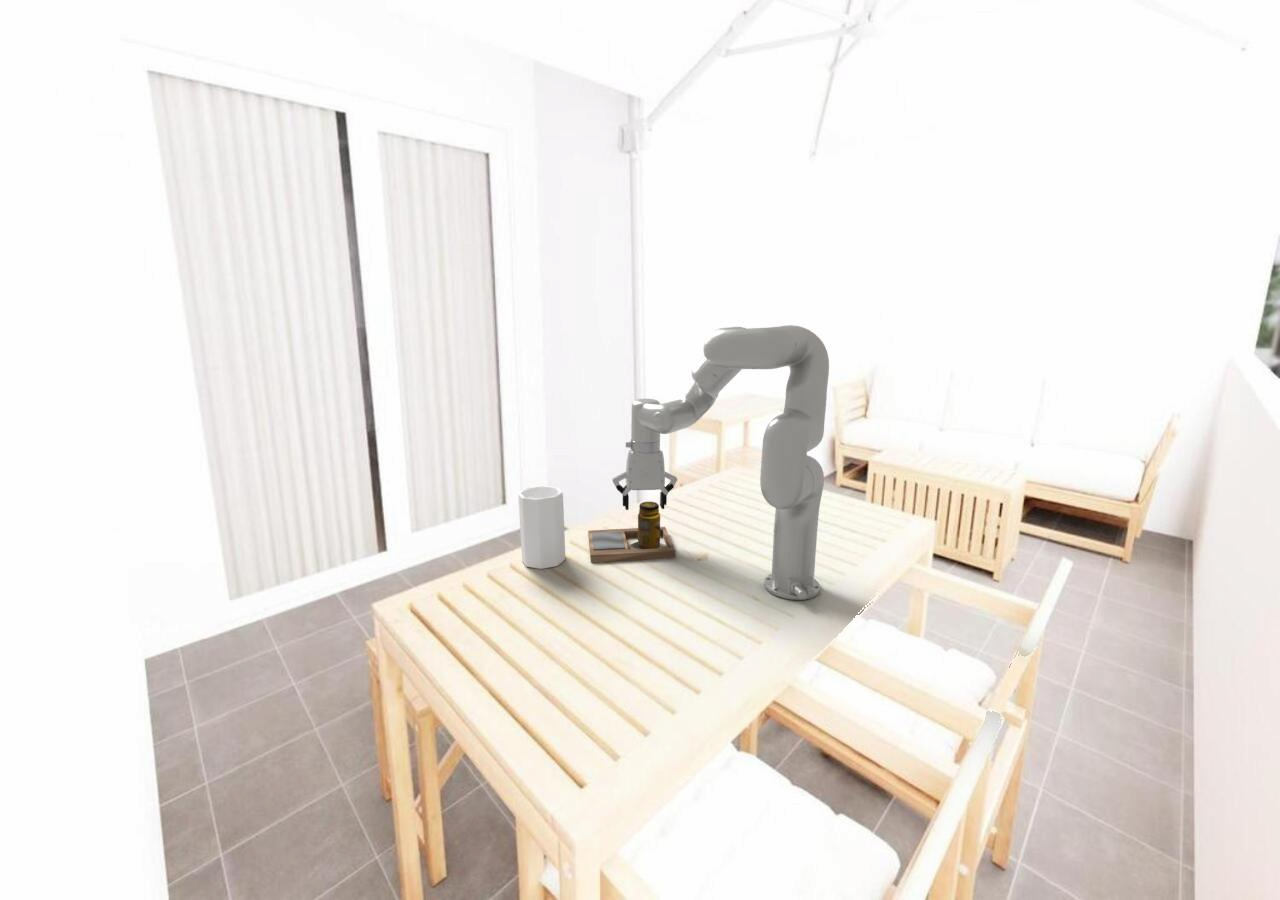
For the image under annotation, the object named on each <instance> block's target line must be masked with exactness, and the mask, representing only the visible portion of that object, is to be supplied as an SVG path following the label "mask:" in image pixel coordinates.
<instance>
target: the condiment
mask: <svg viewBox="0 0 1280 900" xmlns="http://www.w3.org/2000/svg"><path fill="white" fill-rule="evenodd" d="M659 507H660V504H658V503H657V502H655V501H643V502H641V503H640V504H639V509H638V514H637V528H638V537H637V541H636V542H634V543H633V542H632V543H630V544H627V545H628V549H630V550H638V549H657V548H665V547H667V546H666V543H662V542H661V536H660V527H661V513H660V510H659V509H660V508H659Z"/></svg>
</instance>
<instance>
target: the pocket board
mask: <svg viewBox="0 0 1280 900" xmlns="http://www.w3.org/2000/svg"><path fill="white" fill-rule="evenodd" d="M587 532H588V536H587V537H588V545H589V546H588V547H589V556H590V563H602V562H603V563H605V562H606V563H607V562H620V561H621V562H622V561H623V562H624V561H625V562H626V561H642V560H658V559H661V560H662V559H675V558H676V549H675V546H674V544H673V541H672V540H671V537H670V535H669V533H668V530H667V528H666V526H660V537H662V538H663V541H664V544H665V545H666V546H665V547H662V548H657V549H638V550H633V549H630V548H629V547H628V545H629V544H628V542H627V539H632V538H634V539H635V538H638V527H634V528H633V527H632V528H615V529H613V528H612V529H595V530H594V529H593V530H587Z"/></svg>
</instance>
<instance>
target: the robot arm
mask: <svg viewBox="0 0 1280 900" xmlns="http://www.w3.org/2000/svg"><path fill="white" fill-rule="evenodd" d="M828 353H829V352H828V350H827V348H826V345H825V344H824V342H823V341H822V339H821V338H820V337H819V336H818V335H816V334H815V333H814V332H813V331H812V330H810V329H808V328H806V327H802V326H800V325H791V324H789V325H779V326H772V327H771V326H770V327H769V326H768V327H751V328H750V327H749V328H746V327H742V326H729V327H722V328H718V329H715V330H714V331H711V333H710V334H709V335H708V336H707V337H706V339H705V341H704V344H703V357H702V358H701V359H700V360H699V361H698V362H697V363H696V364H695V365H694V366H693V367H692V370H691V377H692V380H693V381H694V382H693V385H692V386H691V387H690V388H689V389H688V390H687V391H686V393H685V394H684V395H682V396H681V398H679V399H676V400H673V401H669V402H664V403H660V401H658V400H657V399H653V398H638V399H634V400H633V402H632V404H631V425H630V426H631V429H630V430H631V432H630V433H631V434H630V440H629V441H628V442H627V441H626V442H625V448H629V450H628V454H627V459H626V466H625V471H624V472H622V473H620V474H618V475H617V476H614V477H613V478H612V480H611V481H612V483H613V484H614V486H615V489H616V490H617V491H618V492H619V493H620V494H622V495H621V496H622V507H624V508H625V511H628V510H629V509H630V507H629V504H630V500H629V499H630V497H629V493H630V492H631V491H649V490H650V491H656V490H657V491H658V490H660V492H659V496H660V497H659V507H660V508H661V509H662V510H665V506H667V504H668V503H667V502H668V501H667V499H668V497H667V496H668V495H669V493H670V491H672V490H673V488H675V487H674V486H675V485H676V484H677V482H678V478H677V476H675V475H674V474H671V473H669V472H667V471H666V470H665V467H666V466H665V458H664V453H663V451H662V450H661V448H660V447H661V435H668V434H672V433H676V432H677V431H681V430H683V429H684V430H685V429H687V428H689V427H691V426H694V424H696V423H697V422H698V421H699V420H700V419H701V418H702V417H703V416H704V415H705V414H706V413H707V412H708V411H709V410H710V409H711V408H712V406H713V405H714V404H715V402H716V400H717V398H718V397H719V394H720V392H721V391H722V390H723V389H724V388H725V387H726V386H727V385H728V384H729V383H730V382H731V381H732V380H733V379H734V378H735V377H736V376H737V375H738V374H739V373H740V372H741V371H742V370H774V369H776V370H777V369H779V368H783V367H787V366H788V367H789V369H790V370H789V376H788V380H787V383H786V387H785V399H784V401H785V402H784V408H783V413H781V414H779V415H777V416H775V417H774V418H772V419H771V420H770V422H768V424H767V426H766V428H765V431H764V433H763V439H762V446H761V447H762V448H761V449H762V450H761V462H760V465H761V466H760V475H759V476H760V478H759V485H760V491H761V494H762V497H763V498H764V499H765V500H764V501H766V503H767V504H769V505H770V506H771V507H772V508H775V512H774V521H773V522H774V523H773V524H774V525H773V526H774V527H773V539H772V540H773V542H772V543H773V544H772V545H773V546H772V559H771V560H772V563H771V565H772V566H771V573H770V574H768V575H767V576H766V577H765V578H764V587H765V590H767V591H768V592H769V593H770V594H772V595H773V596H776V597H778V598H783V599H787V600H793V601H794V600H795V601H803V600H805V601H806V600H810V599H813V598H815V597H816V596H818V595H819V594H820V593H821V585H820V582H819V581H818V580H817V579H815V571H816V570H815V569H816V556H817V555H816V552H817V538H818V528H819V527H818V526H819V515H820V505H821V501H822V500H821V499H822V495H823V490H824V485H825V474H824V470H823V467H822V465H821V464H820V463H819V461H818V460H816V458H814V457H812V456H811V455H808V452H810V451H812V450H813V449H815V448H817V446H818V445H819V444H820V443H821V442H822V440H823V438H824V434H825V433H824V432H825V420H826V419H825V418H826V409H827V408H826V407H827V395H828V394H827V393H828V384H829V376H830V375H829V374H830V360H829V355H828ZM624 479H625V483H626V484H625V485H624V487H623V486H622V485H621V484H620V482H621V481H622V480H624ZM666 479H667V480H670V481H669V482H668V484H667V485H665V484H666Z"/></svg>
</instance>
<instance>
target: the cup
mask: <svg viewBox="0 0 1280 900" xmlns="http://www.w3.org/2000/svg"><path fill="white" fill-rule="evenodd" d="M517 495H518V496H517V498H518V512H519V513H518V514H519V515H518V516H519V527H520V528H519V529H520V549H521V561H522V562H523V563H524V565H525V567H527V568H532V569H539V570H544V569H550V568H554V567H558V566H559V565H560V564H562V563H563V562H564V561H565V560H566V539H565V538H566V537H565V535H566V534H565V510H564V492H563V491H562V490H561V489H560V488H559V487H555V486H550V485H549V486H547V485H539V486H532V487H527V488H525V489H523V490H521V491H519V492H518V493H517Z"/></svg>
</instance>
